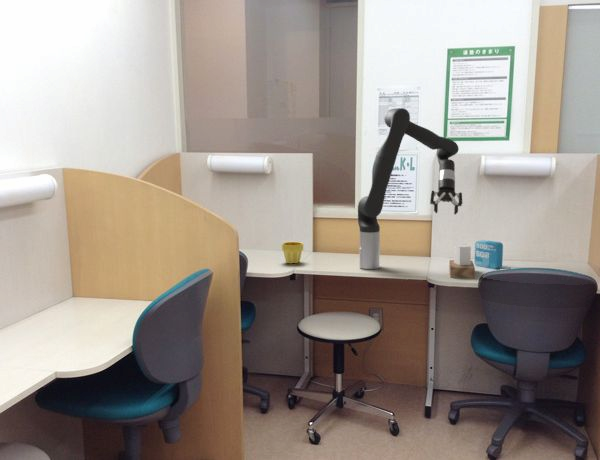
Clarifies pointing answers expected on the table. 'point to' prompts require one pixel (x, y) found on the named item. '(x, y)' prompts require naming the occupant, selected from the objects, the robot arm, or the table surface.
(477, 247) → the data package
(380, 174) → the robot arm
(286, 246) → the plant pot
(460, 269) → the walnut block
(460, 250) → the white block
